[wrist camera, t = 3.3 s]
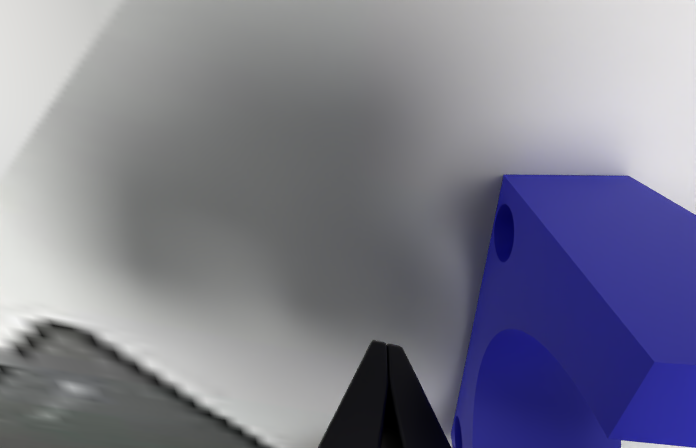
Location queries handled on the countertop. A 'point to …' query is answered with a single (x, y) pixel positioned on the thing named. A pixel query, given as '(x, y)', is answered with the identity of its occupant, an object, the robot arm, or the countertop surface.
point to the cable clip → (582, 319)
